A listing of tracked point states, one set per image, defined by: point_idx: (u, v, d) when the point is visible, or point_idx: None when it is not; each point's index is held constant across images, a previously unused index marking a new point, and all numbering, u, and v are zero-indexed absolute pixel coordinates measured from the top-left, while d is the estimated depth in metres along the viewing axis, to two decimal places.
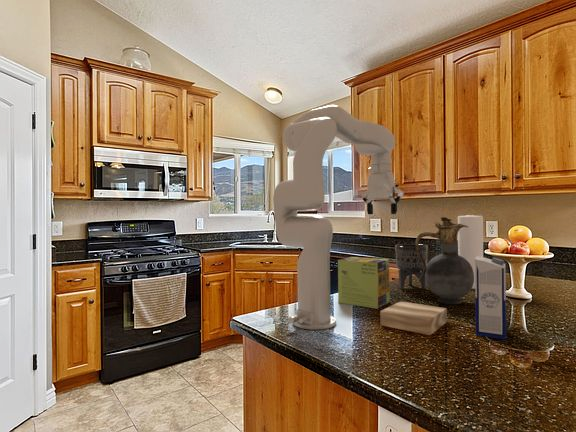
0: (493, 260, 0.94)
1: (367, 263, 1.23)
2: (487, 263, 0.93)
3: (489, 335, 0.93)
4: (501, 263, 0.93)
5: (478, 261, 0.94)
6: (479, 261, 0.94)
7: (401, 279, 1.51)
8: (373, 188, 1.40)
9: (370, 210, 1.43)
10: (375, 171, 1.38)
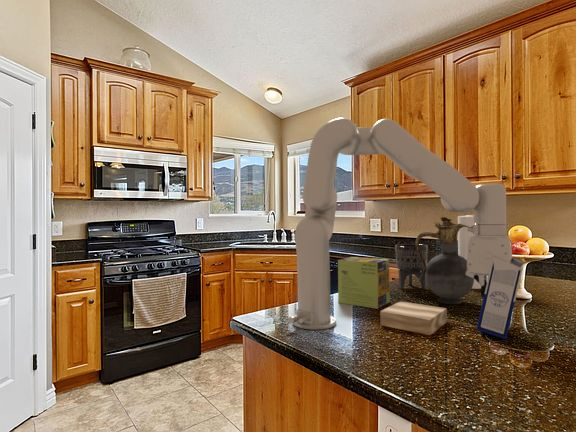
0: None
1: (367, 263, 1.23)
2: (505, 262, 0.91)
3: (490, 332, 0.93)
4: (519, 265, 0.91)
5: (496, 258, 0.92)
6: (497, 259, 0.92)
7: (401, 279, 1.51)
8: (479, 259, 0.95)
9: None
10: (484, 235, 0.93)
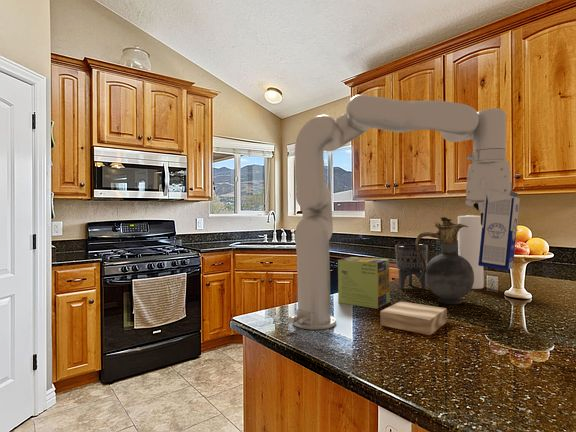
0: None
1: (367, 263, 1.23)
2: (497, 193, 0.91)
3: (491, 266, 0.92)
4: (513, 194, 0.91)
5: (488, 191, 0.92)
6: (489, 191, 0.92)
7: (401, 279, 1.51)
8: (478, 185, 0.94)
9: None
10: (483, 160, 0.93)
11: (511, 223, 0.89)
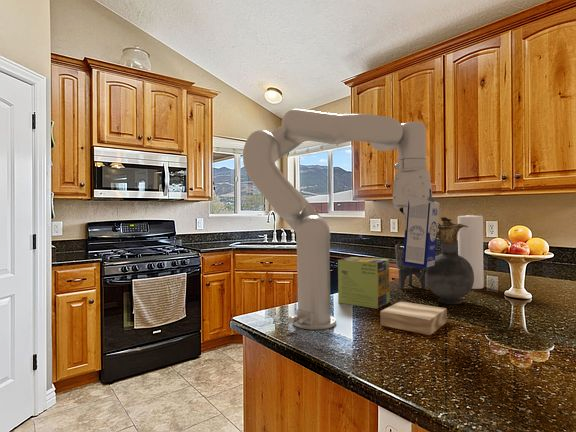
0: None
1: (367, 263, 1.23)
2: (417, 198, 1.00)
3: (413, 265, 1.01)
4: (431, 200, 1.00)
5: (410, 196, 1.02)
6: (411, 196, 1.01)
7: (401, 279, 1.51)
8: (402, 191, 1.03)
9: None
10: (405, 168, 1.02)
11: (428, 225, 0.98)
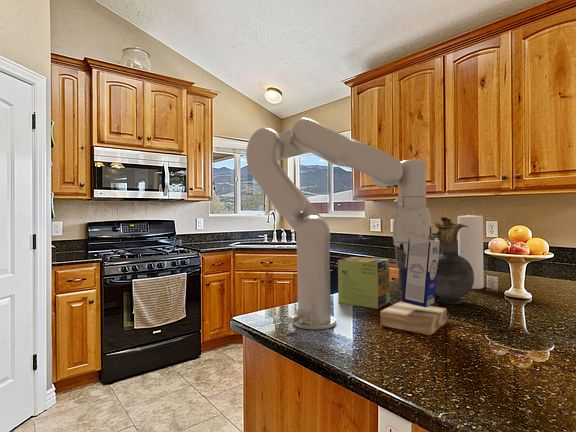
0: None
1: (367, 263, 1.23)
2: (417, 236, 1.00)
3: (413, 303, 1.01)
4: (431, 238, 1.00)
5: (410, 234, 1.02)
6: (411, 234, 1.02)
7: (401, 279, 1.51)
8: (402, 228, 1.04)
9: None
10: (405, 206, 1.02)
11: (428, 265, 0.98)
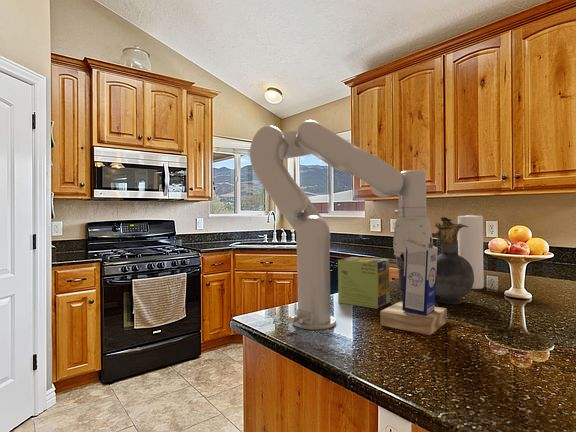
0: None
1: (367, 263, 1.23)
2: (415, 245, 1.00)
3: (413, 311, 1.01)
4: (429, 246, 1.00)
5: (407, 243, 1.01)
6: (408, 243, 1.01)
7: (401, 279, 1.51)
8: (402, 239, 1.04)
9: None
10: (405, 217, 1.02)
11: (427, 273, 0.98)
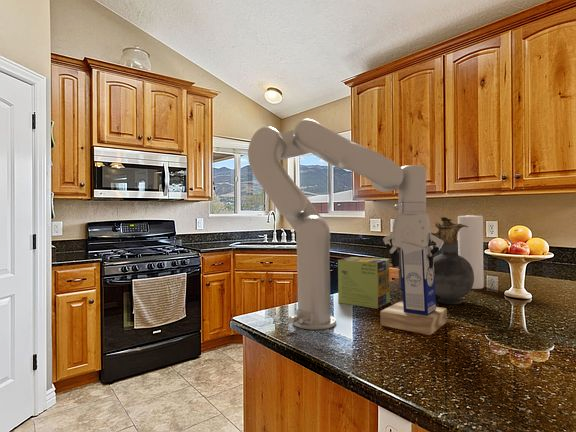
0: None
1: (367, 263, 1.23)
2: (409, 245, 1.01)
3: (414, 312, 1.01)
4: None
5: (402, 244, 1.02)
6: (403, 244, 1.02)
7: (401, 279, 1.51)
8: (401, 234, 1.04)
9: (396, 261, 1.07)
10: (405, 211, 1.02)
11: (424, 272, 0.99)
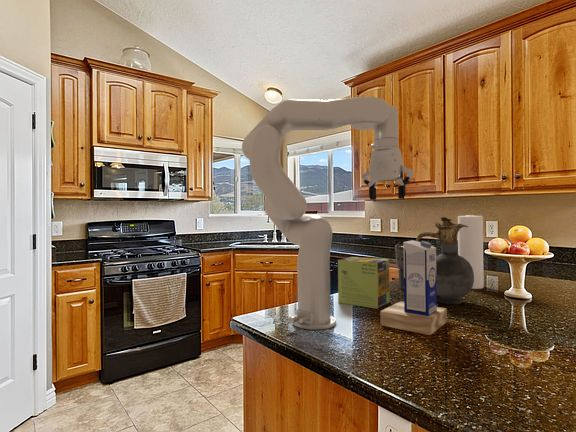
0: (421, 243, 1.02)
1: (367, 263, 1.23)
2: (413, 245, 1.00)
3: (415, 312, 1.01)
4: (427, 246, 1.00)
5: (406, 244, 1.02)
6: (406, 244, 1.02)
7: (401, 279, 1.51)
8: (376, 168, 1.16)
9: (373, 195, 1.19)
10: (379, 147, 1.14)
11: (426, 273, 0.98)
